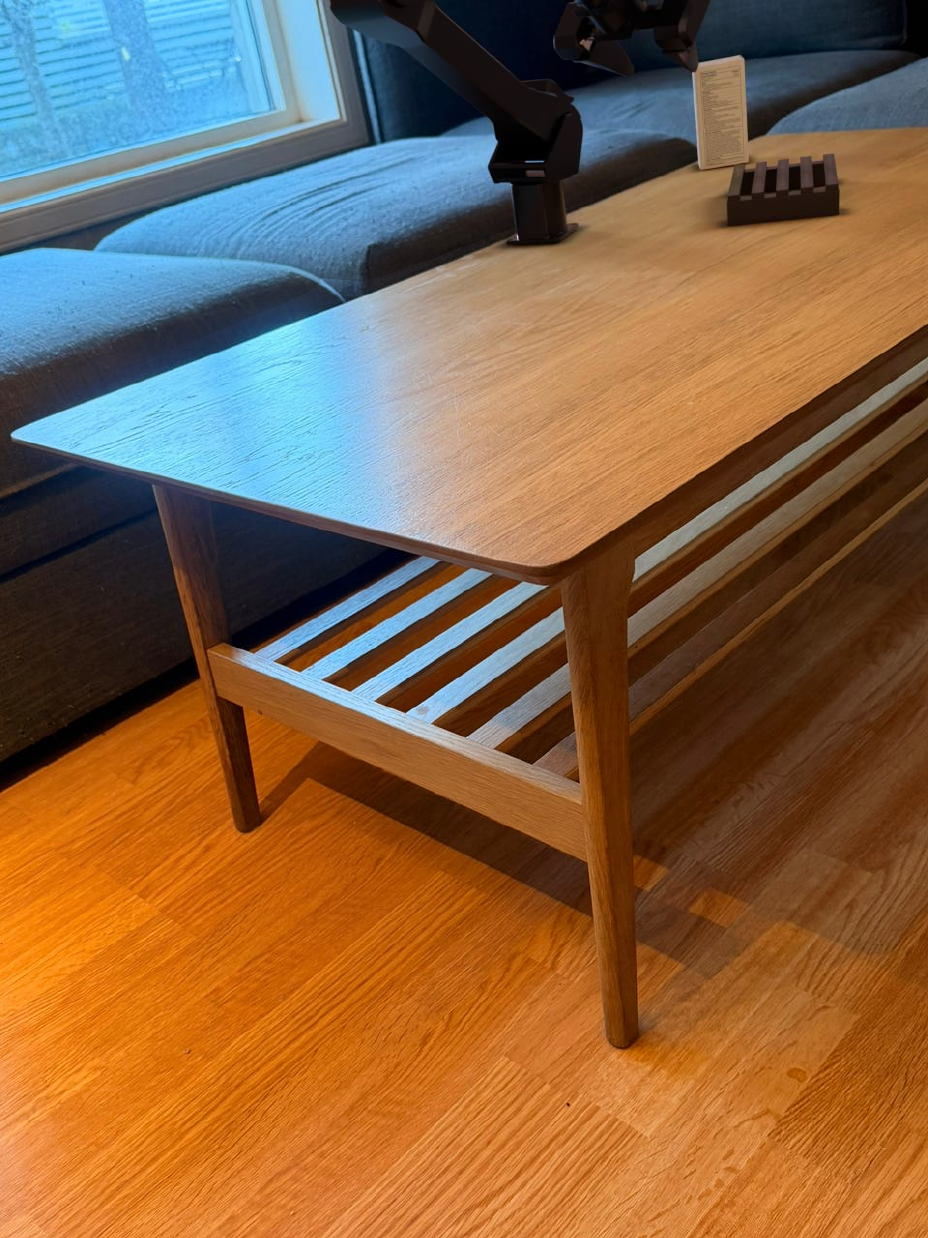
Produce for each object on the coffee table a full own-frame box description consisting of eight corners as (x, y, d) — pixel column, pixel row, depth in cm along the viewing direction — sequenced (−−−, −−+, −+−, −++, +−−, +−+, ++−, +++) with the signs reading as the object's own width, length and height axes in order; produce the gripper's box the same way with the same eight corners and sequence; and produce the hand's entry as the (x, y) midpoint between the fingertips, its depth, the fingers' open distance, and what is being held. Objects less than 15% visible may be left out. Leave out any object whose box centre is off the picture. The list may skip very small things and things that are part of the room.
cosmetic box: (745, 157, 146) (742, 54, 140) (749, 163, 142) (746, 57, 136) (696, 164, 147) (691, 62, 141) (698, 170, 143) (693, 66, 137)
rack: (839, 214, 113) (839, 183, 112) (727, 225, 116) (726, 195, 115) (834, 181, 126) (835, 152, 125) (734, 192, 129) (733, 164, 128)
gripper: (695, -104, 115) (757, 0, 127) (556, -77, 127) (625, 15, 139) (654, -5, 115) (721, 91, 126) (520, 13, 127) (592, 98, 139)
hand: (663, 70), depth 132 cm, fingers open, 9 cm apart
